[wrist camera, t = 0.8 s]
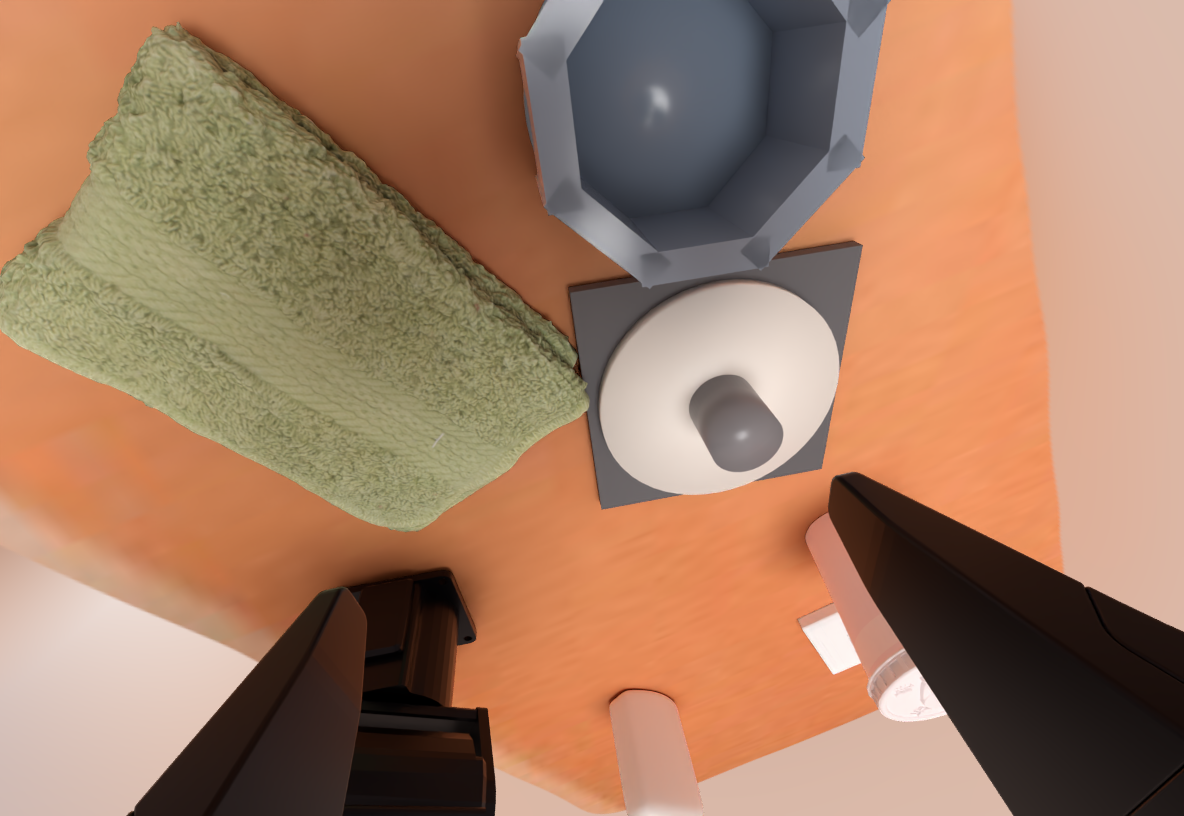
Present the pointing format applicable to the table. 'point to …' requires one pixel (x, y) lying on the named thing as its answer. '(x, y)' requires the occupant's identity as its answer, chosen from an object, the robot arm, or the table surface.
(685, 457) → the lid
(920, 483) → the table surface
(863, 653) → the smoothie
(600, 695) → the table surface
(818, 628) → the external hard drive
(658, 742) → the eye dropper bottle
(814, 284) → the mat
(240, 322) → the washcloth
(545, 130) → the bowl
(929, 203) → the table surface
